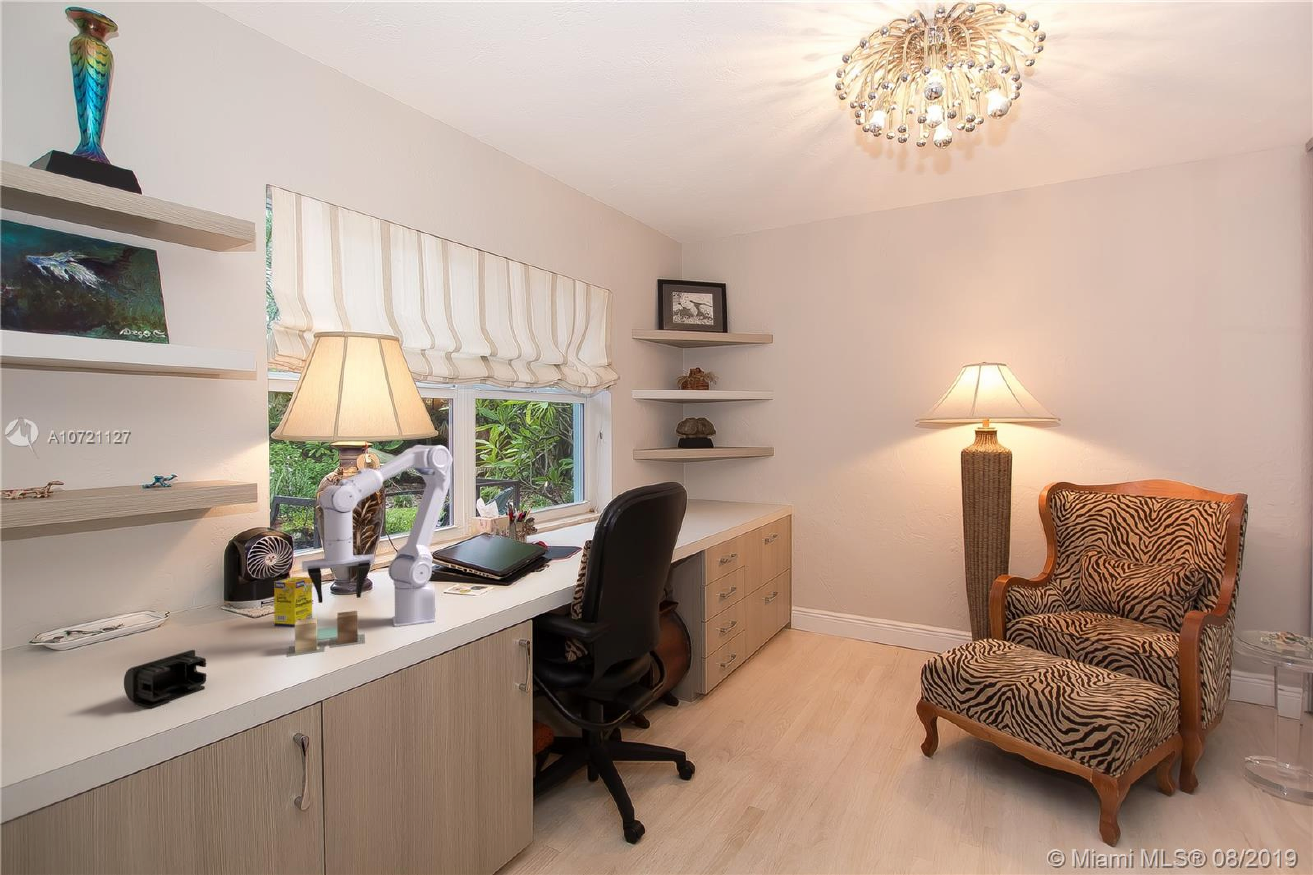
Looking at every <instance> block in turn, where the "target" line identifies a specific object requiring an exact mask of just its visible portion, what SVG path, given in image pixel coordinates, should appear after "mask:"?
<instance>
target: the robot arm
mask: <svg viewBox="0 0 1313 875" xmlns="http://www.w3.org/2000/svg"><path fill="white" fill-rule="evenodd" d="M453 459H454V458H453V456H452V455H451V453H450V451H449V449H448V448H447V447H446V446H444V445H442V444H438V445H422V444H416V445H414V446H412V447H410V448H407V449H406V450H404V451H403V452H401V453H400V454H398V455H397V456H395V457H394V458H392V459H390V460H389V461H387V462H385V463H384V464H382V465H380V466H379V467H378V468H376V469H373V468H369V467H368V468H360V469H358V470H357V473H356V474H353V475H351V477H348V478H345V479H344V478H342V479H341V480H339V483H338V485H333V484H332V485H328V486H326V487H325V488H324V489H323V491H321V493H320V496H319V498H318V499H317V502H318V505H319V506H320V508H322V511H323V523H324V524H323V525H324V526H323V528H324V530H323V533H324V541H323V542H324V558H318V559H311V560H310V559H309V560H305V561H304V560H302V561H301V571H302V572H307V573H308V576H309V577H310V578H311V580H312V585H313V586H314V589H315V592H316V594H317V600H318V603H319V604H321V603H323V591H322V570H326V569H335V568H336V569H337V568H344V567H351V566H355V571H356V574H355V575H356V586H355V587H356V588H355V596H356V598H357V599H360V598H361V596H362V590H363V588H364V583H365V581H366V578H367V576H368V574H369V572H370V569H371V565H375V562H376V558H375V557H376V556H375V554H372V553H371V554H357V555H355V554H354V535H353V534H354V532H353V531H354V530H353V529H354V528H353V527H354V526H353V524H354V523H353V522H354V521H353V520H354V519H353V510H354V509H356V507H357V505H358V503H359V502H361V501H363V499H366V498H367V497H369V496H371V495H373V494H374V493H376V492H377V491H380V490H381V489H382V487H383V484H384V482H385V481H387V480H389V479H392V478H393V477H395V476H397V475H399V474H402V473H403V472H405V471H408V470H409V469H412V468H413V470H414V471H416V472H417V474H418V475H419V476H421V477H422V480H423V481H424V483H425V488H424V491H423V494H422V497H421V500H420V503H419V506H418V508H417V511H416V515H415V518H414V521H413V524H412V527H411V529H410V532H409V534H408V538H407V541H406V544H404V545H403V546H402V547H401V548H399V549H398V550H397V553H396V555H395V557H394V558H393V560H392V561H391V562H390V564H389V565H388V570H387V572H388V573H387V574H388V576H389V578H390V579H391V580H392V581H393V586H394V616H392V618H391V619H392V623H393V627H395V628H396V627H405V626H412V625H419V624H426V623H434V622H436V609H437V608H436V607H437V606H436V590H435V584H434V583H432V582H430V583H429V582H428V581H429V580H430V579H431V577H432V573H433V570H432V569H433V568H432V565H433V560H434V557H433V555H432V553H431V551H430V546H431V543H432V541H433V536H434V534H435V531H436V528H437V524H438V521H439V519H440V516H441V513H442V510H443V506H444V503H445V501H446V499H447V498H446V497H447V494H448V491H449V488H450V485H451V467H452V465H453V464H452V463H453V461H454V460H453Z"/></svg>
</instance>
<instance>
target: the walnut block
mask: <svg viewBox="0 0 1313 875" xmlns="http://www.w3.org/2000/svg"><path fill="white" fill-rule="evenodd" d="M336 617H337V619H336V622H337V623H336V624H337V625H336V626H337V636H338V645H339V644H347V643H354V642H358V635H359V633H358V630H359V629H358V610H350V611H344V612H343V611H342V612H337V616H336Z"/></svg>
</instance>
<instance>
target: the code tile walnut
mask: <svg viewBox="0 0 1313 875" xmlns="http://www.w3.org/2000/svg"><path fill="white" fill-rule="evenodd" d="M365 635H366V634H365V633H362V634H361V633H360V634H358V642H354V643H347V644H339V645H338V638H331V639H329V640H330V642H329V643H330V644H329V649H332V648H333V649H334V648H339V647H340V648H341V647H347V646H355V645H356V646H357V645H362V644H366V637H365Z"/></svg>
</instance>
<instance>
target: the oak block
mask: <svg viewBox="0 0 1313 875" xmlns="http://www.w3.org/2000/svg"><path fill="white" fill-rule="evenodd" d="M317 629H318V617H312V618H309V619H301V620H296V623H295V627H294V646H295V653H301V652H308V651H316V650H317V643H318V640H317Z"/></svg>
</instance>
